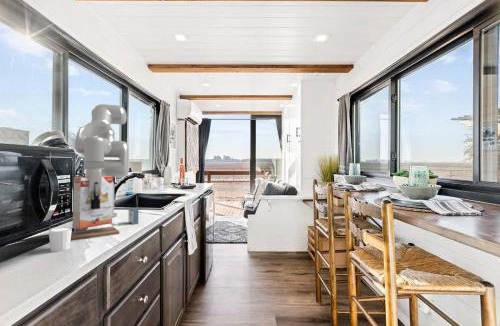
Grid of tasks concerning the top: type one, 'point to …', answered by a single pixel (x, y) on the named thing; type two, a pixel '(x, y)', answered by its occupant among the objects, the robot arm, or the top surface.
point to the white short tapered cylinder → (60, 239)
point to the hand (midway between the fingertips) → (93, 207)
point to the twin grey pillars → (132, 217)
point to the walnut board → (93, 233)
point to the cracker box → (82, 203)
